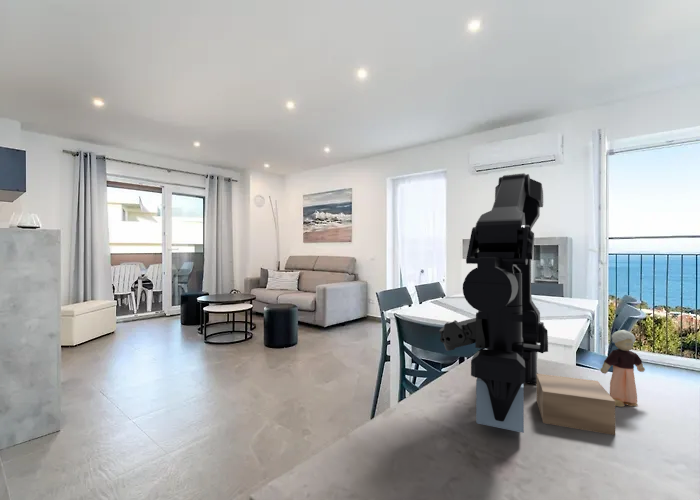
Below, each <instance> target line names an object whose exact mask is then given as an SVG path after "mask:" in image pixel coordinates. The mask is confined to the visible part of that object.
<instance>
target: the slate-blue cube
mask: <svg viewBox="0 0 700 500" xmlns="http://www.w3.org/2000/svg"><path fill="white" fill-rule="evenodd" d="M475 383H476V385H475V387H476V388H475V390H476V391H475V394H476V396H475V397H476V398H475V399H476V400H475V403H476V405H475V406H476V407H475V409H476V411H475V413H476V415H475V419H476V421H475V422H476V424H478V425H484V426H489V427H494V428H499V429H504V430H509V431H512V432H517V433H524V431H525V429H524V424H525V422H524V421H525V419H524V416H525V411H524V408H525V405H524V403H525V402H524V401H525V400H524V397H525V395H524V394H525V393H524V389H525V388H524V387H525V386H524V385H525V384H522V385H521V387H520V389H519V391H518V393H517V395H516V397H515V399H514V401H513V403H512V405H511V407H510V409H509V411H508V413H507V416H506V418H505V420H504V421H503V422H502V421H497V420H495V417H494V413H493V409H492V404H491V400H490V396H489V392H488V388H487V385H486V383H485V382H484V381H482V380H481V379H480V378H476V382H475Z"/></svg>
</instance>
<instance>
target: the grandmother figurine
mask: <svg viewBox="0 0 700 500" xmlns="http://www.w3.org/2000/svg"><path fill="white" fill-rule="evenodd" d="M611 339H612V340H611V341H612V342H613V343H614V345H615V347H616V349H613V350H611V352H610V353H609V354H608V355H607V357H606V358H605V359H604V361H603V364H602V367H601V368H600V370H599V371H600V373H602V374H608V372H609V370H610V368H611V367H612V373H611V378H610V380H609V393H608V394H609V395H610V396H611V397H612V398H613V399H614V401H615V407H625V405H627V406H629V407H638V393H637V386H636V385H637V384H636V379H635V378H636V377H635V372H634V371H635V369H634V368H635V367H636V369H637V371H638V372H641V373H643V372H645V371H646V369H645V366H644V365H643V361H642V360H643V359H641V358H640V356H639V355H638V354H637V353H636V352H633V351H632V350H633V348H634V345H635V342H636V336H635V335H634V334H633V332H631V331H628V330H626V329H622V330H621V329H619V330H617V331H615V332H613V333H612V335H611Z"/></svg>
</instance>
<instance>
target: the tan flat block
mask: <svg viewBox="0 0 700 500" xmlns="http://www.w3.org/2000/svg"><path fill="white" fill-rule="evenodd" d="M609 394H610V393H608V391H607V389H605V387H604V386H603V385H602V384H601V383H600V381H598V380H595V379H594V380H592V379H584V378H577V377H569V376H568V377H567V376H561V375H560V376H559V375H551V374H543V373H538V374H537V384H536V402H537V407H538V410H539V413H540V417H541V419H542V423H543V424H547V425H554V426H557V427H563V428H565V427H566V428H569V429H570V428H571V429H577V430H581V431H587V432H594V433H600V434H606V435H612V436H616V406H615V401H614V399H613V398H612V397H611V396H610V395H609Z"/></svg>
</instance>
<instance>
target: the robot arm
mask: <svg viewBox="0 0 700 500" xmlns="http://www.w3.org/2000/svg"><path fill="white" fill-rule="evenodd" d="M494 189H495V190H494V191H495V192H494V202H493V205H492V208H491V210H490V211H487V212H485V213H483V214H481V215H480V216H479V218H478V220H477V222H476V223H475V226H474V227H472V228H471V233H470V237H469V238H470V239H469V244H468V248H467V252H466V253H467V254H466V260H465V263H466V265H467V264H470V265H472V264H473V265H477V266H476V267H475V268H474V269H471V271H469V272H468V274H467V275H466V276H465V278H464V280H463V283H462V294H463V297H464V299H465V300H466V302H467V303H468V304H469V306H470V307H472V308H473V309H475V310H476V311H478V312H476V314H475V317H474V318H473V317H472V318H470V319H465V320H461V321H457V320H453V321H451V322H445V323H444V326H442V327H441V328H440V329H439V331H438V332H439V334H440V338H439V341H440V342H441V343H442V344H443V345H444V348H445V350H446V351H447V352H449V351H454V350H455V349H457V348H461V347H464V346H469V345H472V344H475V348H476V349H479V350H477V351H476V352H475V353H474V354H473V355H472V358H471V360H470V376H471V377H473V378H476V379H477V378H480V379H481V380H482V381H484V382H485V383H486V385H487V388H488V392H489V396H490V400H491V404H492V409H493V413H494V417H495V420H497V421H502V422H503V421H504V420H505V418H506V416H507V413H508V411H509V409H510V407H511V405H512V403H513V401H514V399H515V397H516V395H517V393H518V391H519V389H520V387H521V385H522V384H523V385H525V384H526V383H528V384H535V385H537V374H539V373H538V362H537V361H538V353H540V354H544V353H547V352H549V338H548V337H549V336H548V335H549V334H548V329H547V328H546V327H545V325H544V324H545V323H544V322H542V321H541V312H540V310H539V309H538V307H537V305H535V304H536V303H534V301H533V300H532V260H533V256H534V246H535V232H533V231H532V228H533V227H534V226H535V224H536V223H537V221H538V219H539V218H540V214H541V213H540V211H541V210H540V208H543V207H544V190H543V189H544V188H543V184H542V183H541V181H540V182H539V181H537V180H535V179H533V178H531V177H530V174H529V173H528V174H526V173H525V172H523V173H513V174H506V175H503V176H500V177H499V178H498V184H497V185H496V186H495V188H494Z"/></svg>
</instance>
